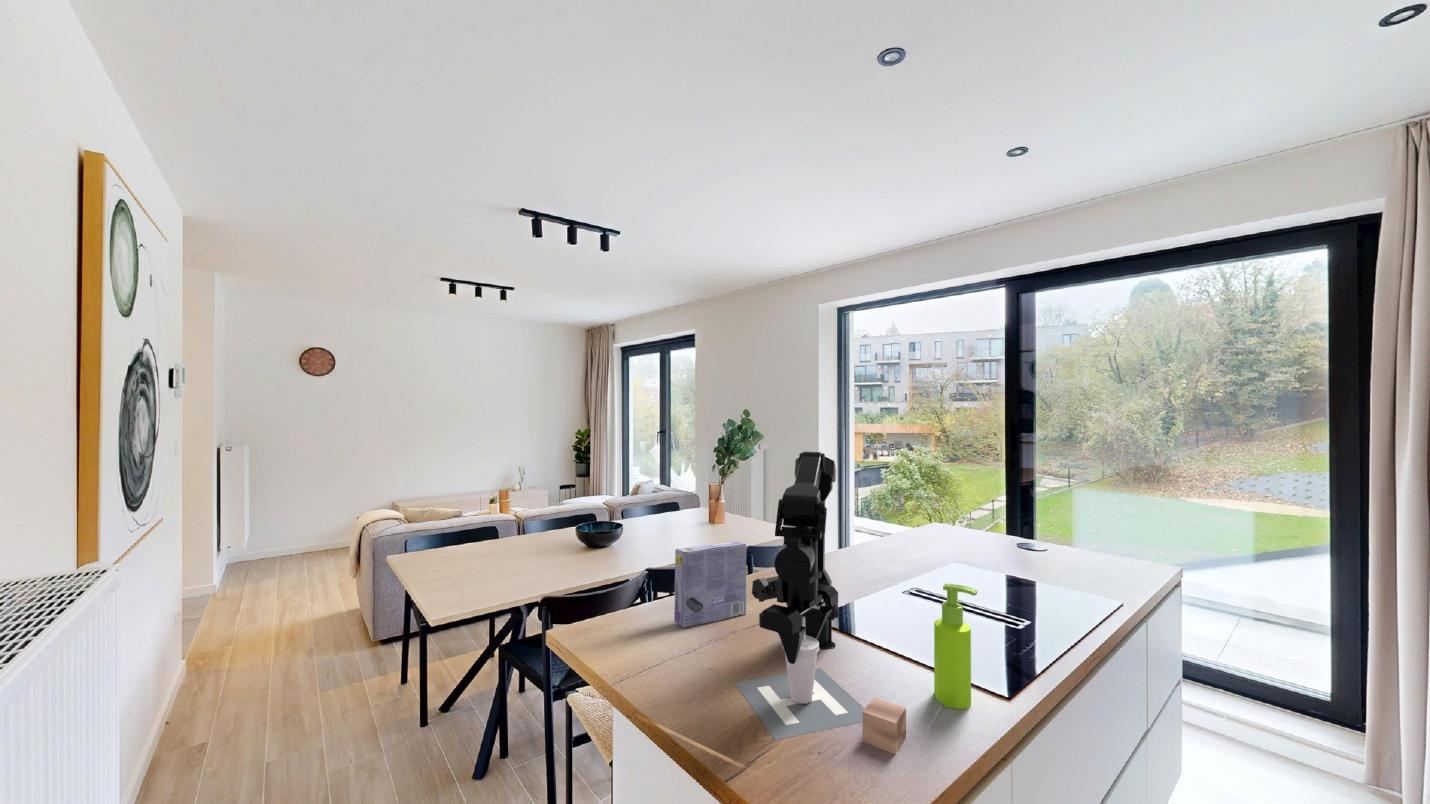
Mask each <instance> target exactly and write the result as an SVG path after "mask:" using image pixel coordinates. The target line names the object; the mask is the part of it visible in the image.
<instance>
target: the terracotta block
mask: <svg viewBox="0 0 1430 804" xmlns="http://www.w3.org/2000/svg"><path fill="white" fill-rule="evenodd" d="M864 708H865V709H864V710H863V712H862V722H861V724H862V743H865V744H866V745H867V744H868V745H870V746H873V747H875V748H877V749H880V750H883V751H886V752H888V753H891V754H892V755H893V754H894V755H896V754H897V753H898V752H899V750H900V748H901V746H902V745H903V743H904V742H905V740H907V708H906V707H903V706H902V705H901V706H900V705H898V704H895V703H892V702H889V701H886V700H883V699H879V698H877V697H873V698H872V700H871V701H870V702H869V704H868V705H866V707H864Z"/></svg>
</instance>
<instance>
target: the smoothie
mask: <svg viewBox="0 0 1430 804" xmlns="http://www.w3.org/2000/svg"><path fill="white" fill-rule="evenodd" d="M802 626H803V627H805V616H802ZM781 646H782V650H784V647H783V644H782V645H781ZM819 651H820V649H819V642H818V640H817V639H815V638H813V637H811V636H808V635H805V633H804V637H803V640H802V643H801V646H800V650H799V653H798V656H797V659H796V662H795V664H791V663H789V662H788V660H787V657H786V654H785V653H784V656H785V665H786V672H787V673H786V674H788V681H789V688H790V696H791V699H792V700H793V701H794V702H797V703H801V704H804V703H809V702H811V701H812V696H813V686H814V677H815V669H817V668H816V667H817V658H818V652H819Z"/></svg>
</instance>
